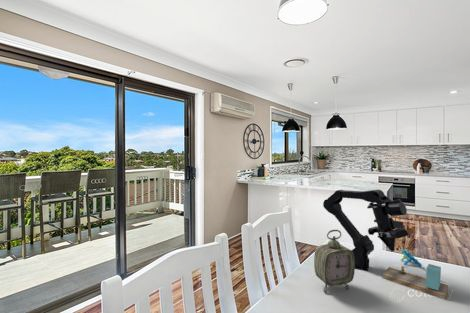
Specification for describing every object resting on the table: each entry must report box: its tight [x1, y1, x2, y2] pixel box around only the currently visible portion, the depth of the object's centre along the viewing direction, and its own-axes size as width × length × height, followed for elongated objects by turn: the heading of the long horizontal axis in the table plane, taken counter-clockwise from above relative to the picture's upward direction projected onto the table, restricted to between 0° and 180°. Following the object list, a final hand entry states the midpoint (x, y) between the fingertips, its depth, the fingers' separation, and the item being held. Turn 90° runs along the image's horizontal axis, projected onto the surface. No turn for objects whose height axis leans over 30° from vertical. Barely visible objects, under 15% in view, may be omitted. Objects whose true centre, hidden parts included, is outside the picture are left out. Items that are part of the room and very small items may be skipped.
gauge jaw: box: [425, 263, 442, 290], centre depth 104 cm, size 4×7×8 cm, turn 134°
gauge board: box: [382, 265, 449, 300], centre depth 110 cm, size 22×10×5 cm, turn 44°
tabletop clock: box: [313, 229, 356, 294], centre depth 106 cm, size 14×9×25 cm, turn 105°
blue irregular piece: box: [400, 249, 423, 267], centre depth 128 cm, size 11×6×10 cm
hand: (392, 250), depth 114 cm, fingers closed
